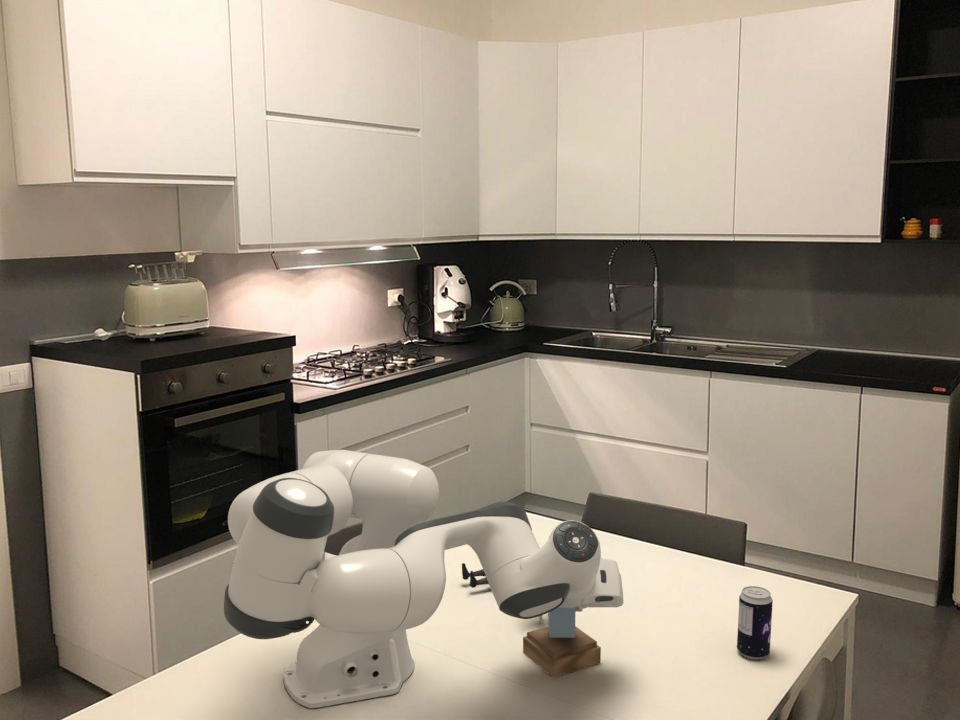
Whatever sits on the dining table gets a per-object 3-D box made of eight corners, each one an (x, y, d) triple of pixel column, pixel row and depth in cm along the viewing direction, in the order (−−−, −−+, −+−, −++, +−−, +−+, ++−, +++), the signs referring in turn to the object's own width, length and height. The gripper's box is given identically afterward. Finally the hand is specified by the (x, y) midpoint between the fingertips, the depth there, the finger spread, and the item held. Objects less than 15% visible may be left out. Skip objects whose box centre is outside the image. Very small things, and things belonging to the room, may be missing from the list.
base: (553, 677, 147) (553, 656, 147) (523, 652, 156) (523, 631, 155) (600, 663, 152) (600, 642, 151) (568, 639, 161) (568, 619, 160)
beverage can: (765, 665, 151) (768, 601, 149) (732, 656, 154) (735, 594, 152) (772, 651, 156) (776, 589, 154) (741, 643, 159) (744, 582, 157)
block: (575, 637, 151) (575, 594, 150) (549, 637, 151) (550, 595, 150) (572, 626, 155) (573, 585, 154) (548, 626, 155) (548, 585, 154)
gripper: (505, 597, 140) (503, 625, 151) (630, 597, 140) (619, 624, 151) (504, 561, 144) (503, 590, 155) (626, 560, 144) (615, 590, 155)
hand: (561, 607), depth 153 cm, fingers closed on block, 4 cm apart
